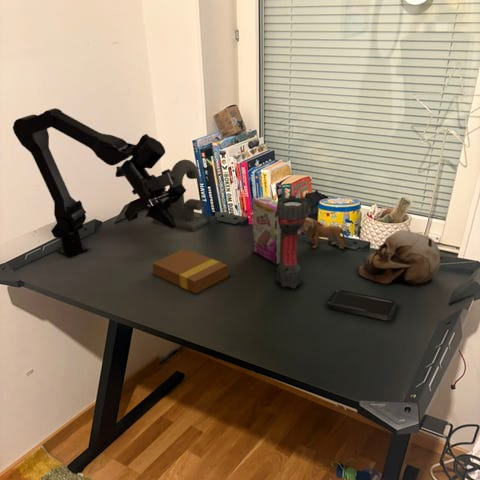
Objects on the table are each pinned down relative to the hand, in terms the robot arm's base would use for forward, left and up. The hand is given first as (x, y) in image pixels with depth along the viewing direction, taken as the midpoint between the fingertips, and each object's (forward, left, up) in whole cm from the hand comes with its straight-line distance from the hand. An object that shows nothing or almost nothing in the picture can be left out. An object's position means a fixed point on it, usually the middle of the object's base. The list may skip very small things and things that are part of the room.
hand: (174, 227), depth 130 cm
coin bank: (+49, +33, -13) cm, 61 cm away
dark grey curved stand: (-27, +27, -13) cm, 41 cm away
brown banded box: (-3, -1, -11) cm, 11 cm away
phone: (+50, +14, -13) cm, 53 cm away
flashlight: (+30, +12, -13) cm, 35 cm away
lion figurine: (+23, +37, -13) cm, 46 cm away
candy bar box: (+15, +22, -13) cm, 30 cm away
